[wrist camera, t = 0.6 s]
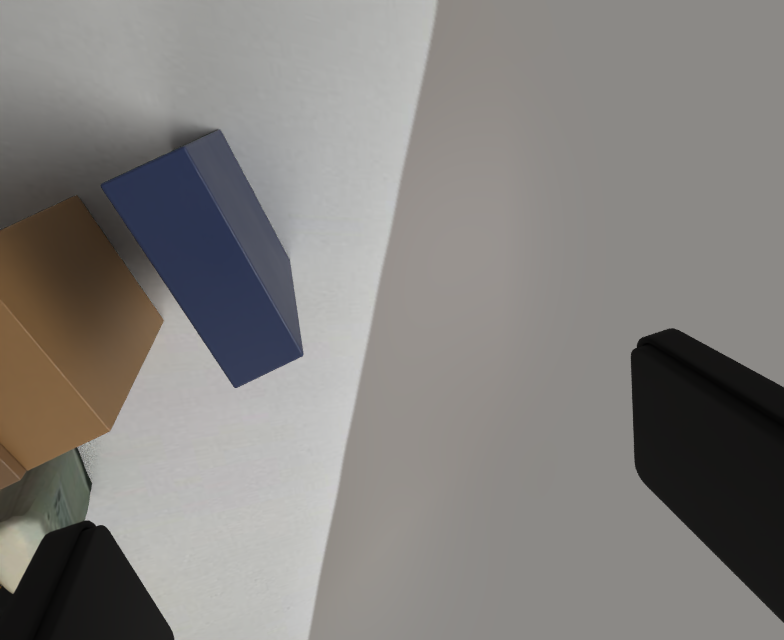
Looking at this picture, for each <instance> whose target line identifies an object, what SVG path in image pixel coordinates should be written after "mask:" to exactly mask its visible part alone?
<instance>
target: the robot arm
mask: <svg viewBox="0 0 784 640" xmlns="http://www.w3.org/2000/svg"><path fill="white" fill-rule="evenodd" d="M631 375H632V403H633V430H634V458H635V467H636V470H637V473H638V475H639V477H640V478H641V480H642V481H643V482H644V483H645V485H646V486H647V487H648V488H649V489H650V490H651V491H652V492H653V493H654V494H655V495H656V496H657V497H658V498H659V499H660V500H662V501H663V503H664V504H665V505H667V507H669V509H670V510H671V511H672V512H673V513H674V514H675V515H676V516H677V517H678V518H679V519H680V520H681V521H682V522H683V523H684V524H685V525H686V526H687V527H688V528H689V529H690V530H692V532H693V533H694V534H696V536H697V537H698V538H699V539H700V540H701V541H702V542H704V544H705V545H706V546H707V547H708V548H709V549H710V550H711V551H712V552H713V553H714V554H715V555H717V557H719V558H720V560H721V561H722V562H723V563H724V564H725V565H726V566H727V567H728V568H729V569H730V570H731V571H732V572H734V574H735V575H736V576H738V577H739V579H740V580H741V581H742V582H744V583H745V585H746V586H747V587H749V589H750V590H751V591H753V593H754V594H756V596H758V597H759V599H760V600H761V601H762V602H763V603H765V604H766V606H767V607H768V608H770V610H772V612H774V614H775V615H776V616H777V617H778V618H779V619H781V620H782V621H783V622H784V387H782V386H780V385H778V384H777V383H775V382H773V381H771V380H769V379H767V378H765V377H764V376H762V375H760V374H758V373H756V372H755V371H753V370H751V369H749V368H747V367H745V366H744V365H741V364H740V363H738V362H736V361H734V360H733V359H731V358H729V357H727V356H725V355H723V354H722V353H719V352H718V351H716V350H714V349H712V348H710V347H709V346H707V345H705V344H703V343H701V342H699V341H698V340H696V339H694V338H692V337H690V336H688V335H687V334H685V333H683V332H681V331H679V330H676V329H673V328H672V329H667V330H664V331H661V332H658V333H655V334H652V335H648V336H646V337H642V338H641V339H640V340H639V341H638V343H637V348H635V349H634V350H633V351H632V353H631ZM0 640H174V636H173V632H172V630H171V628H170V626H169V625H168V623H167V622H166V620H165V618H164V617H163V615H162V614H161V612H160V611H159V609H158V607H157V606H156V604H155V603H154V601H153V599H152V598H151V596H150V595H149V593H148V592H147V590H146V588H145V587H144V585H143V584H142V582H141V580H140V579H139V577H138V576H137V574H136V573H135V571H134V569H133V568H132V566H131V565H130V563H129V561H128V560H127V558H126V557H125V555H124V554H123V552H122V550H121V549H120V547H119V546H118V544H117V542H116V541H115V539H114V538H113V536H112V535H111V533H110V531H109V530H108V529H107V528H106V527H105V526H103V525H99V526H95V524H94V523H92V522H91V521H82V522H79V523H76V524H73V525H70V526H67V527H63V528H60V529H57V530H54V531H51V532H49V533H47V534H46V535H45V536H44V537H43V539H42V540H41V542H40V544H39V546H38V548H37V550H36V552H35V553H34V555H33V557H32V559H31V561H30V563H29V565H28V567H27V569H26V571H25V573H24V574H23V576H22V578H21V580H20V582H19V584H18V586H17V588H16V590H15V592H14V594H13V596H12V597H11V599H10V601H9V603H8V605H7V607H6V609H5V611H4V613H3V615H2V617H1V619H0Z"/></svg>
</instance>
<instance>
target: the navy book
mask: <svg viewBox="0 0 784 640" xmlns="http://www.w3.org/2000/svg"><path fill="white" fill-rule="evenodd" d="M101 188H102V190H103V191H104V193H105V194H106V196H107V197H108V199H109V200H110V202H111V203H112V205H113V206H114V208H115V209H116V211H117V212H118V214H119V215H120V217H121V218H122V220H123V221H124V223H125V224H126V226H127V227H128V229H129V230H130V232H131V233H132V235H133V236H134V238H135V239H136V241H137V242H138V244H139V245H140V247H141V248H142V250H143V251H144V253H145V254H146V256H147V257H148V259H149V260H150V262H151V263H152V265H153V266H154V268H155V269H156V271H157V272H158V274H159V275H160V277H161V278H162V280H163V281H164V283H165V284H166V286H167V287H168V289H169V290H170V292H171V293H172V295H173V296H174V298H175V299H176V301H177V302H178V304H179V305H180V307H181V308H182V310H183V311H184V313H185V314H186V316H187V317H188V319H189V320H190V322H191V323H192V325H193V326H194V328H195V329H196V331H197V332H198V334H199V335H200V337H201V338H202V340H203V341H204V343H205V344H206V346H207V347H208V349H209V350H210V352H211V353H212V355H213V356H214V358H215V359H216V361H217V362H218V364H219V365H220V367H221V368H222V370H223V371H224V373H225V374H226V376H227V377H228V379H229V380H230V382H231V383H232V385H233V387H234V388H238V387H240V386H242V385H244V384H246V383H248V382H250V381H252V380H254V379H256V378H258V377H260V376H262V375H264V374H267V373H269V372H271V371H273V370H275V369H277V368H279V367H281V366H283V365H285V364H287V363H289V362H291V361H294V360H296V359H298V358H300V357H302V356H303V348H302V341H301V334H300V327H299V320H298V313H297V306H296V299H295V293H294V286H293V279H292V272H291V265H290V259H289V258H288V256H287V254H286V252H285V250H284V248H283V246H282V244H281V243H280V241H279V239H278V237H277V235H276V233H275V231H274V229H273V228H272V226H271V224H270V222H269V220H268V218H267V216H266V214H265V212H264V211H263V209H262V207H261V205H260V203H259V201H258V199H257V197H256V196H255V194H254V192H253V190H252V188H251V186H250V184H249V182H248V181H247V179H246V177H245V175H244V173H243V171H242V169H241V167H240V165H239V164H238V162H237V160H236V158H235V156H234V154H233V152H232V150H231V149H230V147H229V145H228V143H227V141H226V139H225V137H224V135H223V133H222V132H221V130H216V131H214V132H212V133H210V134H208V135H206V136H203V137H201V138H199V139H197V140H195V141H193V142H190V143H188V144H186V145H184V146H182V147H180V148H177V149H175V150H173V151H171V152H169V153H167V154H164V155H162V156H160V157H158V158H156V159H154V160H151V161H149V162H147V163H145V164H143V165H141V166H138V167H136V168H134V169H132V170H130V171H128V172H126V173H123V174H121V175H119V176H117V177H115V178H113V179H110V180H108V181H106V182H104V183H102V184H101Z"/></svg>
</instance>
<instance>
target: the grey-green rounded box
mask: <svg viewBox="0 0 784 640" xmlns="http://www.w3.org/2000/svg"><path fill="white" fill-rule="evenodd" d="M91 486H92V483H91V481H90V478H89V477H88V474H87V472H86V469H85V467H84V464H83V461H82V458H81V456H80V453H79V451H78V448H77V447H76V448H74V449H72V450H70V451H68V452H66V453H64V454H62V455H60V456H57V457H55V458H53V459H51V460H49V461H47V462H45V463H43V464H41V465H39V466H37V467H35V468H32V469H30V470H28V471H26V473H25V474H24V476H23V477H22V479H21V480H19V481H17V482H15V483H13V484H11V485H9V486H7V487H5V488H3V489H1V490H0V583H1V584H2V585H3V586H4V588H6V589H7V590H8V591H9V592H11V593H12V594H14V592H15V590H16V588H17V586H18V584H19V582H20V580H21V578H22V576H23V574H24V573H25V571H26V569H27V567H28V565H29V563H30V561H31V559H32V557H33V555H34V553H35V552H36V550H37V548H38V546H39V544H40V542H41V540H42V539H43V537H44V536H45V535H46V534H47V533H49V532H51V531H54V530H57V529H60V528H63V527H67V526H70V525H73V524H76V523H79V522H82V521H84V520H85V517H86V514H87V510H88V505H89V498H90V491H91Z"/></svg>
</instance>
